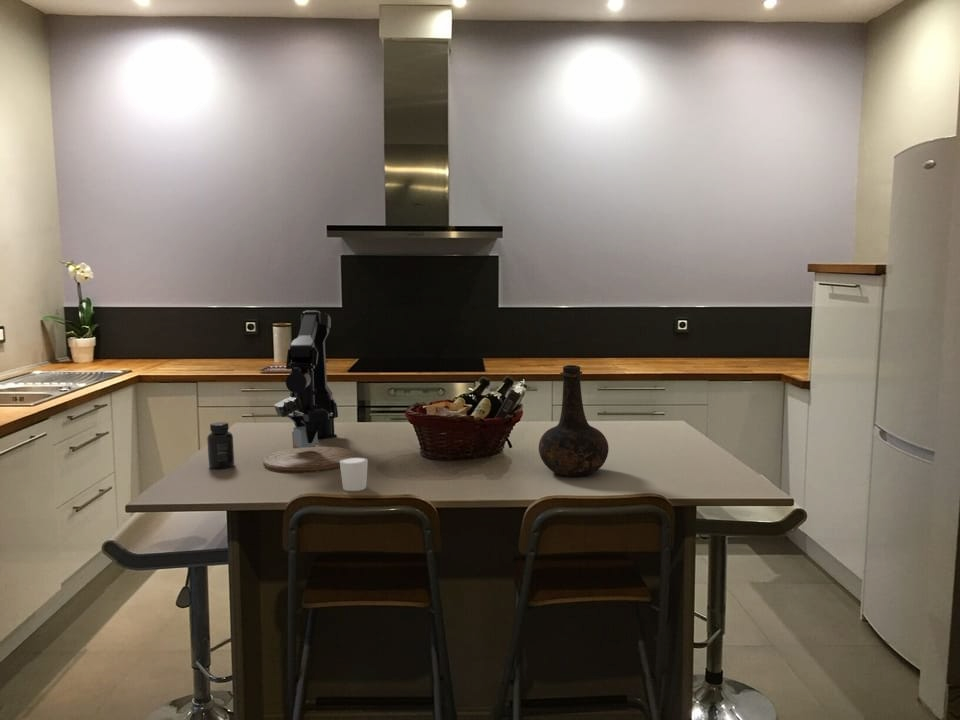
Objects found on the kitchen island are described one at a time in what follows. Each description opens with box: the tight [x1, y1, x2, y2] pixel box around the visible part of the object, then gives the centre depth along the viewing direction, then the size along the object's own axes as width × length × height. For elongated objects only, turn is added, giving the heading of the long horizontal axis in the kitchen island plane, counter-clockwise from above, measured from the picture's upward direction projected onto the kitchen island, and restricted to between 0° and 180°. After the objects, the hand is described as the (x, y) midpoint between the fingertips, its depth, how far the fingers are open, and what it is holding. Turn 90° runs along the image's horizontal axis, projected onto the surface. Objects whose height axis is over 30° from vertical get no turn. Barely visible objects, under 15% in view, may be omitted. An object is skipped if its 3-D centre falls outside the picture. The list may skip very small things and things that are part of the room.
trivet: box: [262, 446, 355, 474], centre depth 236 cm, size 25×25×2 cm
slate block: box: [292, 426, 319, 448], centre depth 242 cm, size 5×5×5 cm
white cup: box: [339, 456, 369, 492], centre depth 207 cm, size 7×7×7 cm
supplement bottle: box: [206, 421, 235, 470], centre depth 232 cm, size 7×7×12 cm
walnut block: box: [291, 430, 316, 448], centre depth 255 cm, size 5×5×5 cm
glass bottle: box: [538, 364, 610, 477], centre depth 218 cm, size 18×18×28 cm
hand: (306, 441), depth 242 cm, fingers closed on slate block, 5 cm apart
